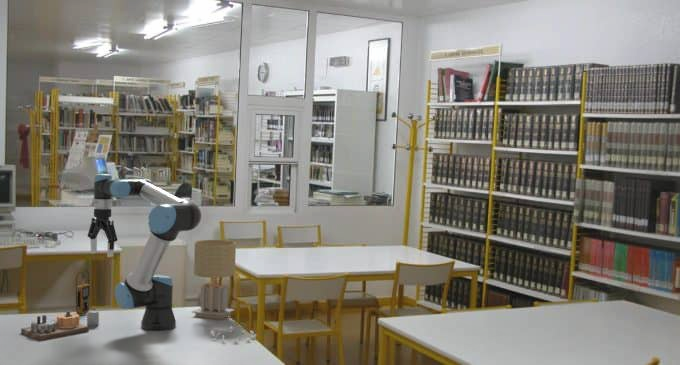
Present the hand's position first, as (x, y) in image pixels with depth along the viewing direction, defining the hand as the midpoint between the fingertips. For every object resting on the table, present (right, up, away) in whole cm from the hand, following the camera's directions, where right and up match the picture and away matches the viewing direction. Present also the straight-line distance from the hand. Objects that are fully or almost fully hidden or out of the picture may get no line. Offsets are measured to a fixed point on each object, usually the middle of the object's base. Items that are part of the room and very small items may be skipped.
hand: (101, 255), depth 340 cm
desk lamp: (+47, -31, +22) cm, 60 cm away
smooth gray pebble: (-3, -31, -5) cm, 31 cm away
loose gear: (-10, -29, -14) cm, 34 cm away
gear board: (-14, -31, -18) cm, 39 cm away
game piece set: (+62, -34, -18) cm, 73 cm away
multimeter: (-12, -30, +19) cm, 37 cm away
